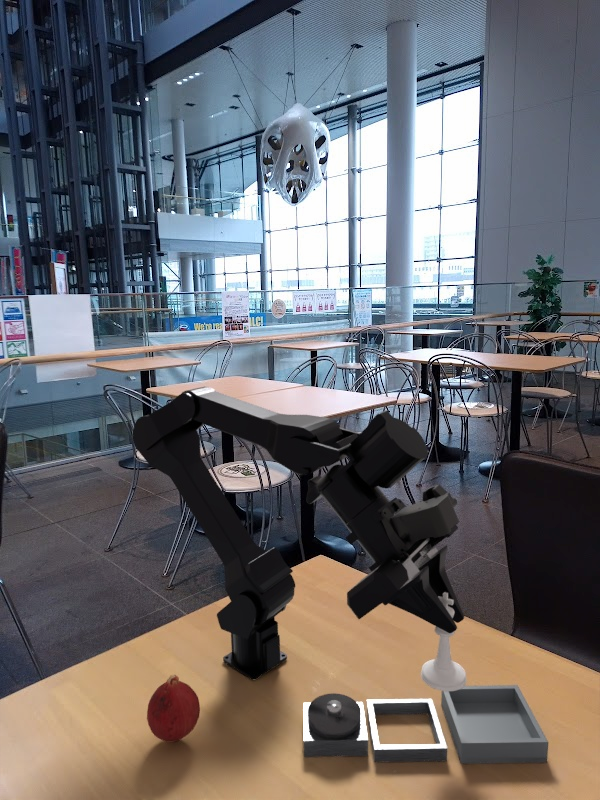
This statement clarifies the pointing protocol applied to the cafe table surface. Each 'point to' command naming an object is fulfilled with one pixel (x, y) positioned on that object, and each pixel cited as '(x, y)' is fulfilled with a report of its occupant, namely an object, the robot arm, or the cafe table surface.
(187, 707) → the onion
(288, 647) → the cafe table surface
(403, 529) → the robot arm
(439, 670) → the chess piece
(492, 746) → the tray
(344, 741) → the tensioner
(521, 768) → the cafe table surface
